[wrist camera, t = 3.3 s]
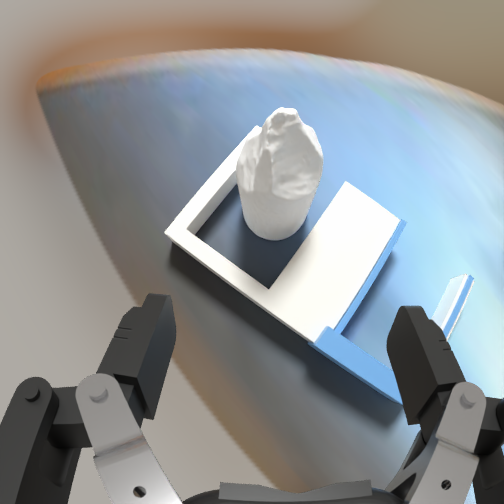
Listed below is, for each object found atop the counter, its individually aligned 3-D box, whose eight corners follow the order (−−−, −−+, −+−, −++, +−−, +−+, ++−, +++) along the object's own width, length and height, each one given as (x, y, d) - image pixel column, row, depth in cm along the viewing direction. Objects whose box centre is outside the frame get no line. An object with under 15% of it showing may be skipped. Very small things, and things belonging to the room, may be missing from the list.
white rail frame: (256, 141, 29) (256, 118, 25) (459, 285, 25) (481, 279, 22) (170, 243, 26) (159, 230, 23) (394, 402, 23) (412, 410, 20)
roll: (317, 189, 15) (208, 145, 15) (291, 251, 26) (228, 224, 27) (352, 102, 16) (259, 68, 16) (317, 190, 27) (258, 165, 28)
